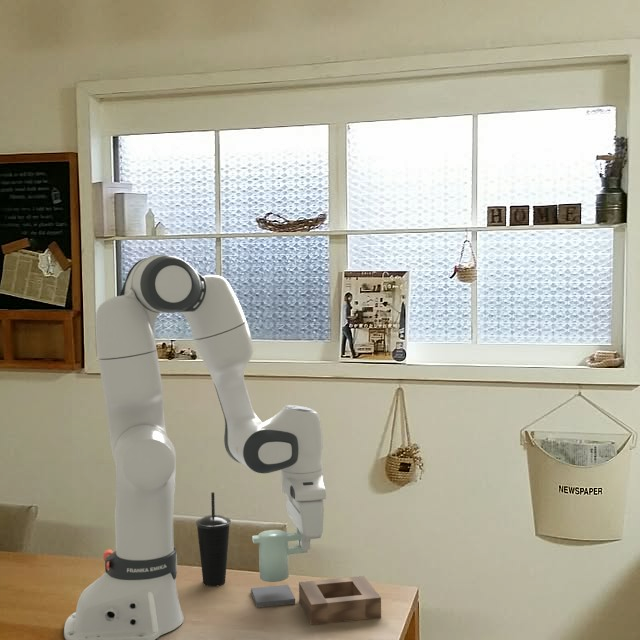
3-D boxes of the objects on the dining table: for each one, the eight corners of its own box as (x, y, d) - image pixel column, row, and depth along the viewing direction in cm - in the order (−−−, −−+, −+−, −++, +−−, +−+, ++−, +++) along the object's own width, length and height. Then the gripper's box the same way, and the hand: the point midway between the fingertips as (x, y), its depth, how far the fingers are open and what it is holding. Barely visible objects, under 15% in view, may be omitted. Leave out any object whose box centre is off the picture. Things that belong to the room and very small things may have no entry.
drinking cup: (225, 590, 178) (224, 498, 176) (191, 587, 179) (190, 496, 178) (236, 577, 185) (234, 489, 184) (203, 575, 187) (202, 487, 185)
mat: (256, 607, 168) (256, 602, 168) (251, 592, 176) (251, 588, 176) (295, 603, 170) (295, 598, 170) (288, 589, 178) (288, 584, 178)
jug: (256, 584, 169) (255, 540, 168) (252, 573, 175) (250, 531, 174) (310, 577, 171) (309, 535, 171) (304, 568, 177) (303, 526, 177)
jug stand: (311, 624, 159) (311, 604, 159) (299, 601, 171) (298, 582, 171) (381, 617, 163) (381, 597, 162) (364, 594, 174) (364, 576, 174)
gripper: (278, 471, 182) (280, 533, 183) (297, 495, 163) (298, 564, 163) (306, 469, 184) (308, 530, 185) (328, 493, 164) (329, 561, 165)
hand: (303, 547), depth 174 cm, fingers closed on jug
